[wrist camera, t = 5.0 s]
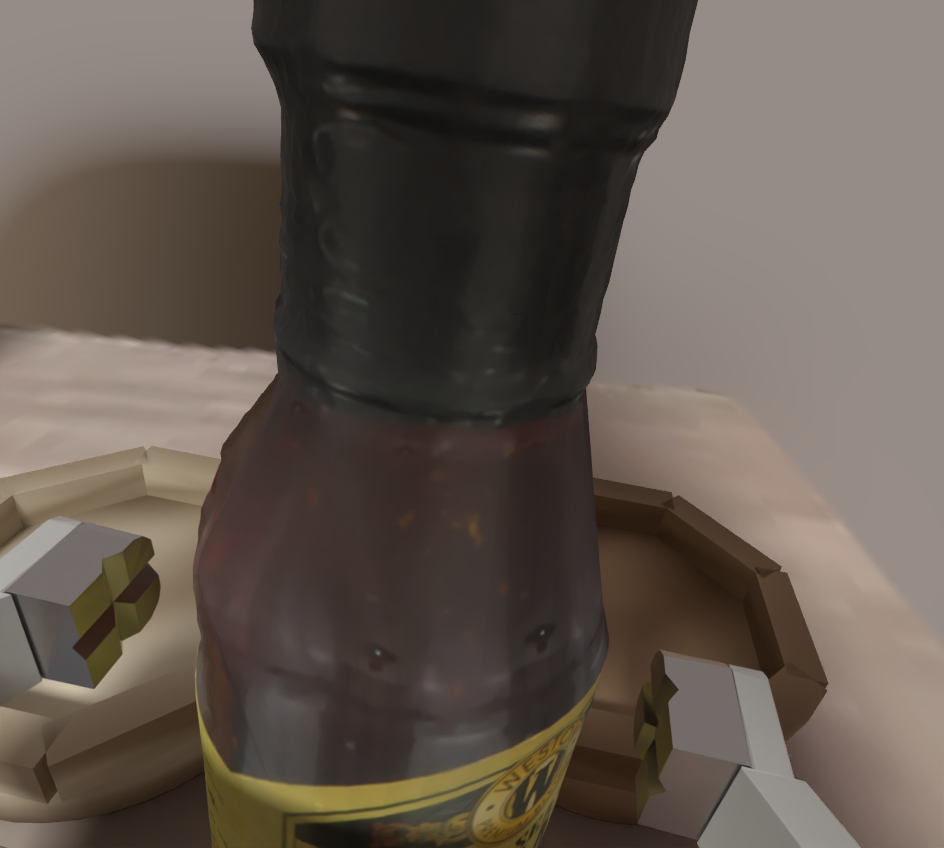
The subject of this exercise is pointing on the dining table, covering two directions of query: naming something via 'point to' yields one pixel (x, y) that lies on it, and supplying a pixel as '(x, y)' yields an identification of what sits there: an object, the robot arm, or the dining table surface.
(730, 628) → the walnut ring seat
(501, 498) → the sauce bottle
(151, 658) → the birch ring seat
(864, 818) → the dining table surface
